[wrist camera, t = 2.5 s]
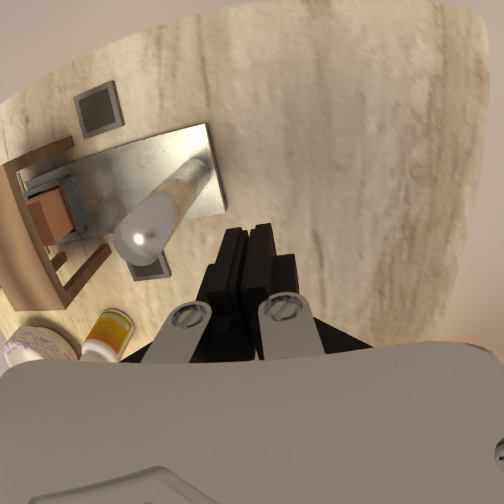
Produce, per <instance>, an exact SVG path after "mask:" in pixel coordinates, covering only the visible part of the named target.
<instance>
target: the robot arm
mask: <svg viewBox="0 0 504 504" xmlns="http://www.w3.org/2000/svg"><path fill="white" fill-rule="evenodd" d="M0 504H504V362H503V361H502V360H501V359H500V358H499V357H498V356H497V355H496V354H494V353H493V352H492V351H490V350H487V349H486V348H484V347H481V346H477V345H474V344H469V343H462V342H453V341H425V342H414V343H405V344H398V345H392V346H384V347H377V348H374V347H372V346H370V345H368V344H366V343H364V342H362V341H360V340H358V339H356V338H354V337H352V336H350V335H348V334H346V333H344V332H342V331H340V330H338V329H336V328H334V327H332V326H330V325H328V324H326V323H324V322H322V321H320V320H318V319H316V318H314V317H313V316H312V313H311V310H310V307H309V304H308V302H307V300H306V299H305V297H303V296H302V295H300V294H299V284H298V275H297V268H296V261H295V255H294V254H287V255H279V256H277V254H276V248H275V243H274V237H273V232H272V226H271V223H266V224H259V225H256V227H255V229H251V231H250V237H249V235H248V231H247V230H242V228H241V227H238V228H231V229H226V232H225V235H224V238H223V241H222V244H221V247H220V250H219V253H218V256H217V259H216V262H215V264H209V265H208V267H207V269H206V272H205V275H204V278H203V281H202V283H201V286H200V289H199V292H198V295H197V298H196V301H192V302H188V303H184V304H182V305H180V306H178V307H177V308H175V309H174V310H173V311H172V312H171V313H170V314H169V316H168V317H167V319H166V321H165V322H164V324H163V325H162V327H161V329H160V330H159V332H158V334H157V335H156V337H155V339H154V340H153V342H151V343H149V344H148V345H146V346H144V347H143V348H141V349H140V350H138V351H136V352H135V353H133V354H131V355H130V356H128V357H126V358H125V359H123V360H122V361H120V362H119V363H117V362H96V361H80V360H61V359H38V360H31V361H26V362H23V363H20V364H17V365H15V366H13V367H11V368H9V369H8V370H7V371H6V372H5V373H4V374H3V375H2V376H1V377H0Z"/></svg>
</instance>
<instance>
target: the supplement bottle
mask: <svg viewBox="0 0 504 504" xmlns="http://www.w3.org/2000/svg"><path fill="white" fill-rule="evenodd" d="M133 332H134V325H133V323H132V321H131V320H130V319H129V317H128V316H126V315H125V314H124V313H122V312H120V311H118V310H114V309H108V310H105V311H104V312H103V313H102V314H101V316H100V317H99V319H98V320H97V322H96V324H95V325H94V327H93V328H92V330H91V332H90V333H89V335H88V337H87V338H86V340H85V341H84V343H83V345H82V354H83V355H82V357H81V358H80V361H96V362H117V363H119V361H120V359H121V357H122V355H123V353H124V351H125V349H126V347H127V345H128V343H129V341H130V339H131V337H132V335H133Z"/></svg>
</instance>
